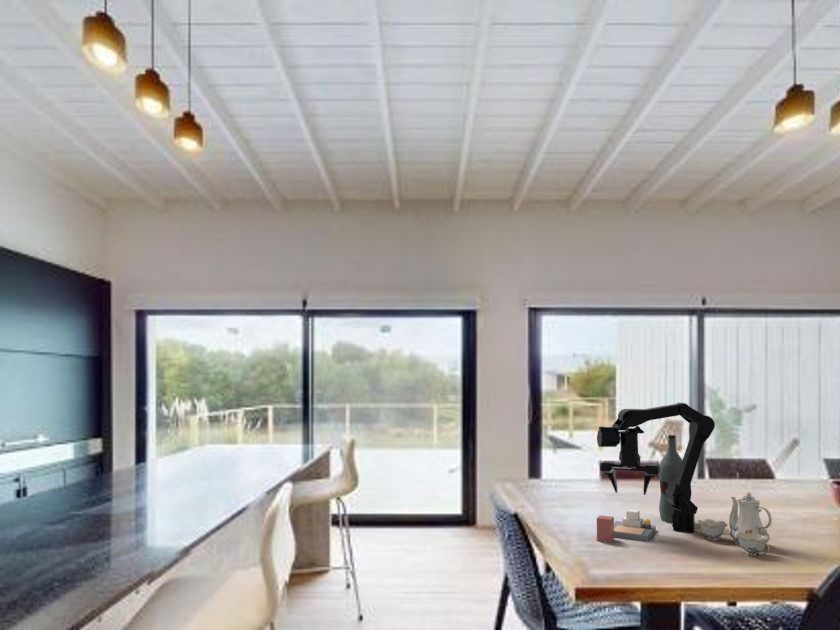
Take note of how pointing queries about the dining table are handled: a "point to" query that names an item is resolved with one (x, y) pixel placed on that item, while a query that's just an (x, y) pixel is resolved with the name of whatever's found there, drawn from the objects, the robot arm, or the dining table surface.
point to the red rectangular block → (605, 528)
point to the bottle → (668, 477)
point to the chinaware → (742, 525)
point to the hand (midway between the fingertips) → (630, 493)
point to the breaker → (632, 514)
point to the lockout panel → (634, 529)
